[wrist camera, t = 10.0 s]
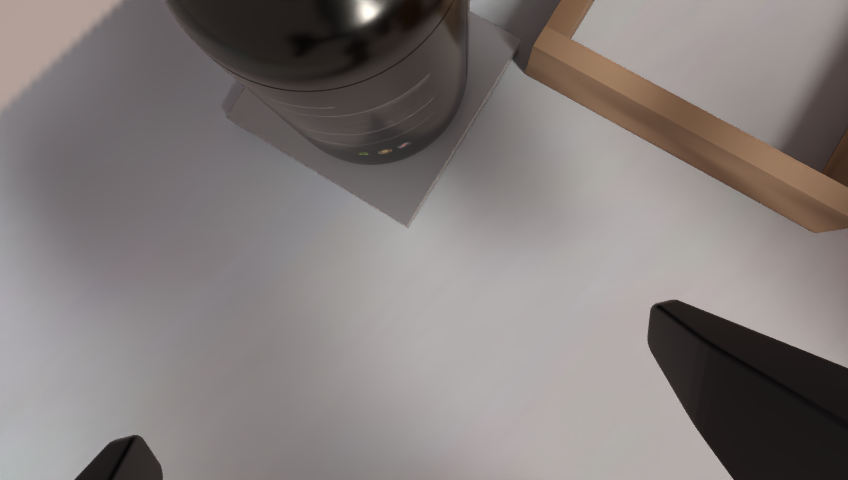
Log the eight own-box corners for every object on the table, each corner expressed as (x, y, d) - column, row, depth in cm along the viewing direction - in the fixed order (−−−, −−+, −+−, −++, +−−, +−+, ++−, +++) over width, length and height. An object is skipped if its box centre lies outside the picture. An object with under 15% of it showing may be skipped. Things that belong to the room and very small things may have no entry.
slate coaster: (519, 46, 19) (521, 39, 18) (408, 227, 19) (406, 226, 18) (342, -50, 20) (338, -60, 19) (233, 121, 20) (226, 116, 19)
